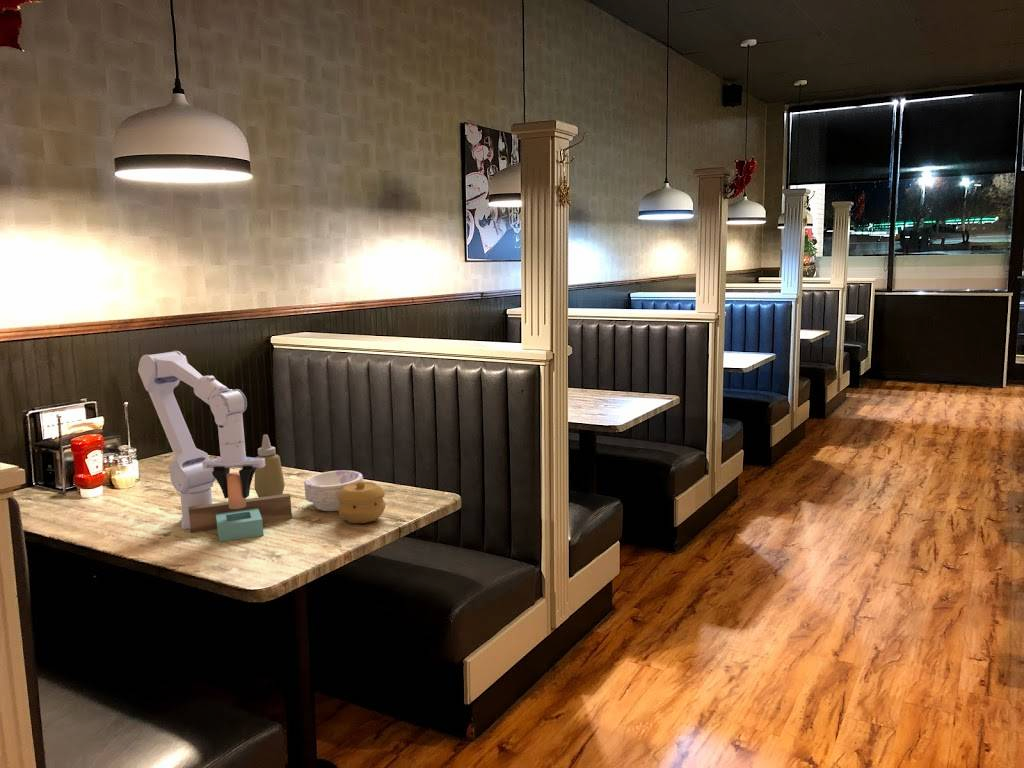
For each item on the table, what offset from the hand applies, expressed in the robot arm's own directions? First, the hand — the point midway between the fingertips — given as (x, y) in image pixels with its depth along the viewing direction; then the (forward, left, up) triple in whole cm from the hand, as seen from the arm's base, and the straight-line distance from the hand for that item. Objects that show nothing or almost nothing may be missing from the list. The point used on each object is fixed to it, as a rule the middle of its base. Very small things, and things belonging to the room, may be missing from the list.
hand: (236, 496), depth 201 cm
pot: (+4, +29, -9) cm, 31 cm away
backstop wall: (-7, +1, -9) cm, 11 cm away
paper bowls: (-11, +25, -9) cm, 29 cm away
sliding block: (0, 0, -9) cm, 9 cm away
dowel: (0, 0, -2) cm, 2 cm away
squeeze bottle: (-26, +10, -9) cm, 29 cm away
